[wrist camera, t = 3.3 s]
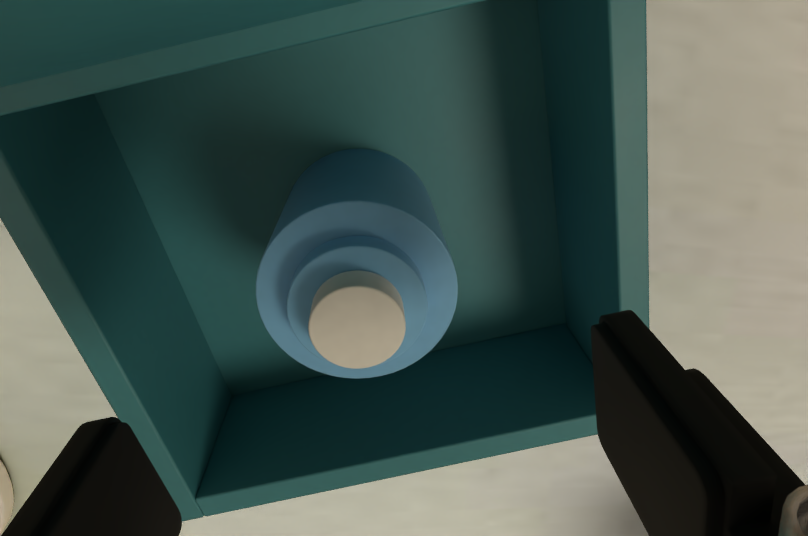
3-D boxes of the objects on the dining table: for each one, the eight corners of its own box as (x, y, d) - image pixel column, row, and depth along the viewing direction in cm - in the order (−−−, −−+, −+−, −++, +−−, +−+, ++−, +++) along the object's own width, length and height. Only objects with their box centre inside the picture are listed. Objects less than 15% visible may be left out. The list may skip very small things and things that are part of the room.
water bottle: (310, 299, 23) (282, 435, 15) (265, 167, 20) (207, 254, 13) (444, 269, 23) (483, 393, 15) (417, 132, 20) (447, 199, 13)
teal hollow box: (580, 324, 26) (651, 424, 19) (223, 401, 26) (178, 523, 20) (551, -51, 19) (647, -86, 12) (68, 66, 19) (-79, 88, 13)
